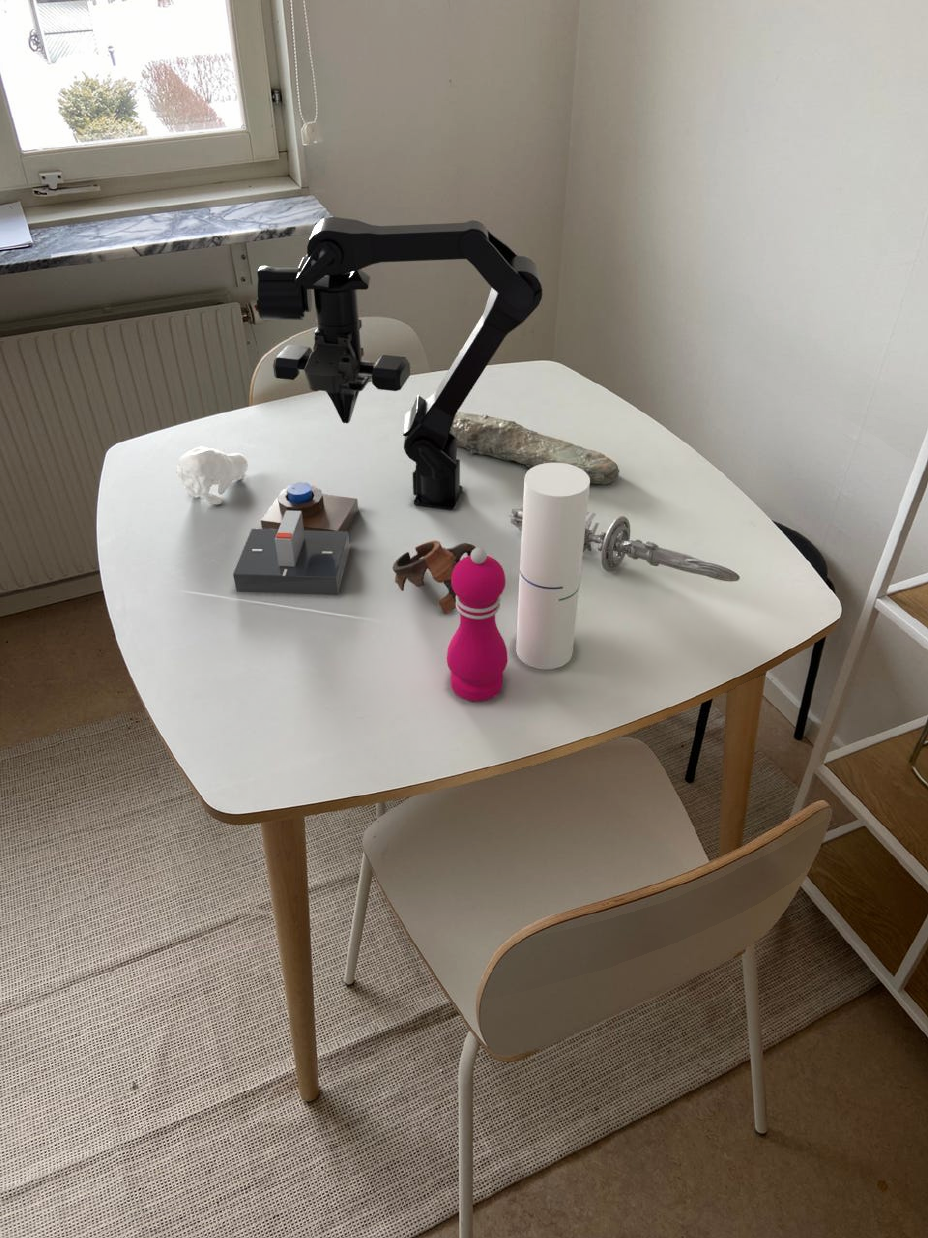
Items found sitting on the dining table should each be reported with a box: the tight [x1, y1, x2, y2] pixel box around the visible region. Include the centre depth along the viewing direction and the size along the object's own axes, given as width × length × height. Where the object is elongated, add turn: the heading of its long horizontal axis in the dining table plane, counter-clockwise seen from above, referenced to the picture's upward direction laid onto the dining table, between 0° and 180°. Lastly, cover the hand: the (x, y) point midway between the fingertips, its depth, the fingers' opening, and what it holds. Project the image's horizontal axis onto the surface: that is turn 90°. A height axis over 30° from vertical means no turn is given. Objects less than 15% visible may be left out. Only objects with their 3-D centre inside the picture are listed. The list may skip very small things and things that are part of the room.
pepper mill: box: [446, 547, 509, 703], centre depth 106 cm, size 7×7×20 cm
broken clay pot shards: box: [392, 540, 477, 615], centre depth 125 cm, size 12×10×8 cm
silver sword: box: [508, 506, 741, 583], centre depth 128 cm, size 8×35×8 cm
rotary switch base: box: [232, 528, 351, 596], centre depth 129 cm, size 14×11×3 cm
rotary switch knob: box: [275, 510, 305, 567], centre depth 127 cm, size 7×2×5 cm, turn 176°
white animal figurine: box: [175, 446, 249, 506], centre depth 144 cm, size 6×8×12 cm
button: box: [286, 481, 313, 504], centre depth 137 cm, size 4×4×2 cm
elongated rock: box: [450, 411, 620, 485], centre depth 154 cm, size 35×5×10 cm
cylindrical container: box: [515, 463, 591, 670], centre depth 109 cm, size 7×7×25 cm
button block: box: [260, 484, 359, 532], centre depth 138 cm, size 12×9×4 cm
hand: (346, 422), depth 136 cm, fingers closed
